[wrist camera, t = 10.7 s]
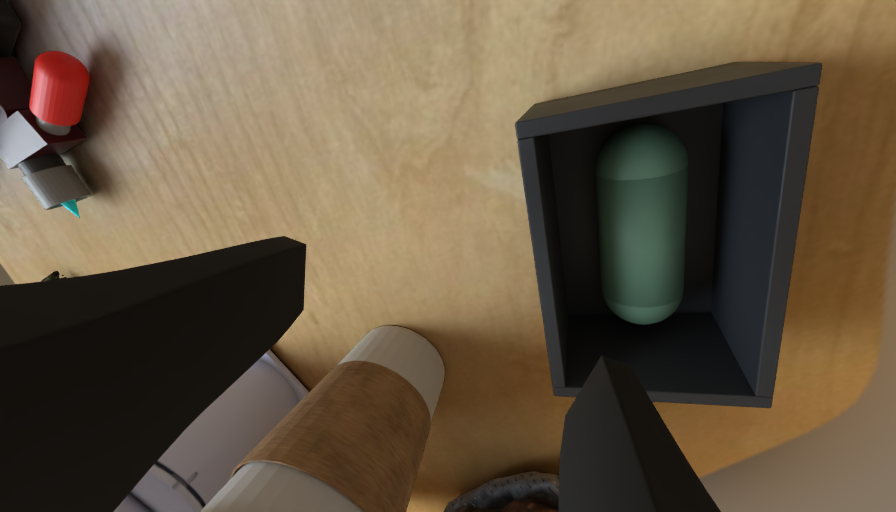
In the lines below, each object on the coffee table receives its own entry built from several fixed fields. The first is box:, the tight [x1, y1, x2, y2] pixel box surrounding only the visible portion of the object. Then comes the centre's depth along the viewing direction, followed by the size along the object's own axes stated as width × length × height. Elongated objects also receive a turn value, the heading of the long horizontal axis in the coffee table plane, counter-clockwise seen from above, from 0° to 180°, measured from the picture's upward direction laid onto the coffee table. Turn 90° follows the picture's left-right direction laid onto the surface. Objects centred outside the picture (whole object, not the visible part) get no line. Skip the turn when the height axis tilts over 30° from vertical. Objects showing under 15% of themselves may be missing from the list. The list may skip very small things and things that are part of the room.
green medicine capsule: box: [595, 124, 689, 325], centre depth 15 cm, size 8×3×3 cm, turn 12°
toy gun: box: [0, 0, 91, 218], centre depth 21 cm, size 10×12×5 cm
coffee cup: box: [200, 326, 445, 512], centre depth 18 cm, size 8×8×15 cm
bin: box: [515, 62, 822, 408], centre depth 14 cm, size 10×7×6 cm, turn 13°
